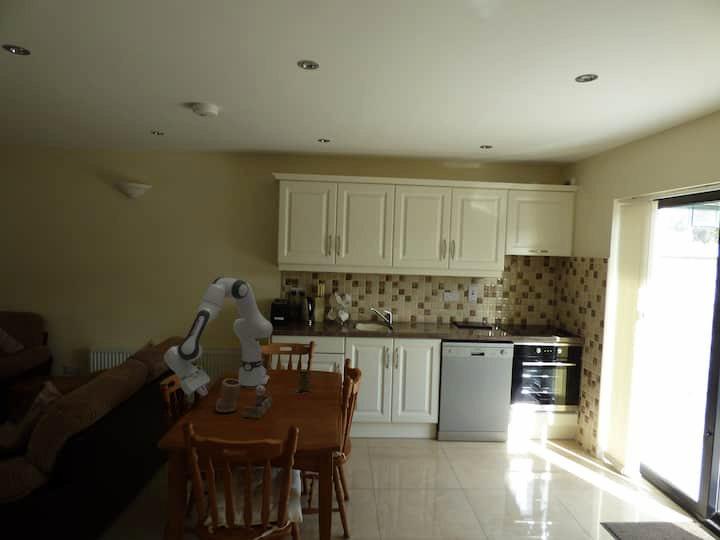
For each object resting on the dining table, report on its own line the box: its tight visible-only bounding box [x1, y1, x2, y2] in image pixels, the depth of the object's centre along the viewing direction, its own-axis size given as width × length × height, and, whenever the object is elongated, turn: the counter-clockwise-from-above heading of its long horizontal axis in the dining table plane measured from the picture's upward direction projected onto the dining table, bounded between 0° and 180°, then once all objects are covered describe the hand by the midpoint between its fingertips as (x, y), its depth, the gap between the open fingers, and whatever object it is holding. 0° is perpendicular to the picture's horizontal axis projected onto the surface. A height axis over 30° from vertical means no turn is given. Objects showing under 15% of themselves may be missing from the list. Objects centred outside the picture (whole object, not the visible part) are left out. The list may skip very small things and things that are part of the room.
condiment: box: [294, 369, 310, 395], centre depth 258 cm, size 7×8×12 cm
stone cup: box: [215, 378, 242, 413], centre depth 226 cm, size 15×12×15 cm
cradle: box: [242, 384, 274, 419], centre depth 224 cm, size 19×10×15 cm, turn 172°
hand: (206, 394), depth 228 cm, fingers closed
